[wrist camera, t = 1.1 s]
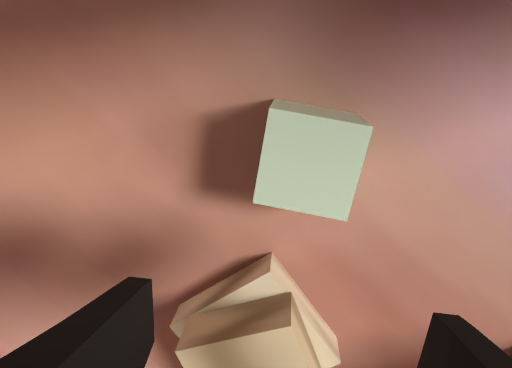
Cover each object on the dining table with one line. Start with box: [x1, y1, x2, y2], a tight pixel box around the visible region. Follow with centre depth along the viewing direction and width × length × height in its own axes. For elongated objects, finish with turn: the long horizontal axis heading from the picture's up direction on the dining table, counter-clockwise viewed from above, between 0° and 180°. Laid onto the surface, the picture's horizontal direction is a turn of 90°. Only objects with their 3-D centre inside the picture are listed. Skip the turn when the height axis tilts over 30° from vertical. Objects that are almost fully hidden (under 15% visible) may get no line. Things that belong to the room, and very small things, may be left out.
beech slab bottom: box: [169, 252, 341, 368], centre depth 21 cm, size 7×7×2 cm
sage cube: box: [253, 98, 373, 221], centre depth 16 cm, size 4×4×4 cm
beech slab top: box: [175, 292, 321, 368], centre depth 18 cm, size 6×6×2 cm
